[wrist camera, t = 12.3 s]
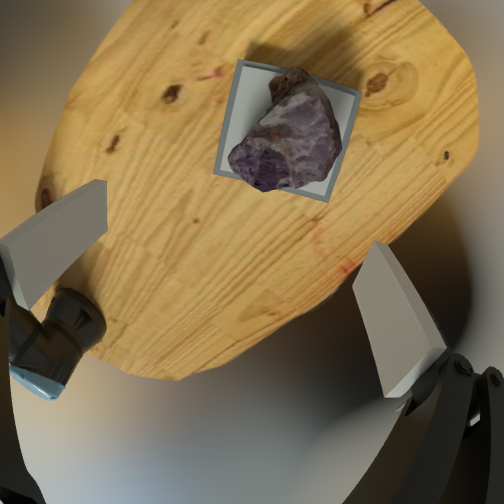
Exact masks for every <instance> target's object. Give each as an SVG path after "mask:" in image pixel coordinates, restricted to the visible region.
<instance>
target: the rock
mask: <svg viewBox="0 0 504 504" xmlns="http://www.w3.org/2000/svg"><path fill="white" fill-rule="evenodd" d="M268 86H269V90H270V93H271V103H272V104H271V107H270V108H269V109H267V111H266V114H265V116H264V117H262V118H261V119H260V120H258V122H257V123H256V125H255V126H254V127H253V128H252V129H251V130H250V132H249V134H248V135H247V136H246V137H245V138H244V139H243V140H242V141H241V143H239V144H237V145H236V146H235V147H234V148H232V150H231V152H230V154H229V155H228V162H229V165H230V168H231V170H232V171H233V172H234V174H237V175H239V176H240V177H241V178H242V179H243V180H244V181H246V182H247V183H248V184H249V185H251V186H252V187H254V188H256V189H258V190H260V191H262V192H268V191H271V190H275V189H279V190H281V189H283V188H287V187H292V188H294V189H298V188H301V187H303V186H306V185H308V184H309V183H311V182H315V181H316V182H322V181H324V180H325V179H326V178H327V176H328V173H329V172H330V170H331V169H332V167H333V164H334V162H335V160H336V158H337V157H338V156H339V154H340V152H341V151H342V141H341V134H340V129H339V124H338V122H337V120H336V119H335V116H334V112H333V109H332V106H331V103H330V100H329V99H328V98H327V96H326V95H325V93H324V92H323V90H322V89H321V88H320V87H319V86H318V83H317V82H316V81H315V80H314V79H313V78H311V76H310V75H309V74H308V73H307V72H306V71H304V70H302V69H300V68H298V67H293V68H291V69H289V70H288V71H286V72H285V73H284V74H283V75H281V76H275V77H274V78H273V79H272V80H270V82H269V84H268Z"/></svg>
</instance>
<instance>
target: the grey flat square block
mask: <svg viewBox="0 0 504 504" xmlns="http://www.w3.org/2000/svg"><path fill="white" fill-rule="evenodd" d="M288 70H289V69H286V68H281V67H277V66H273V65H268V64H263V63H258V62H252V61H246V60H240V59H238V61H237V65H236V69H235V73H234V77H233V81H232V86H231V90H230V94H229V99H228V103H227V107H226V112H225V117H224V121H223V126H222V131H221V136H220V141H219V146H218V151H217V156H216V161H215V167H214V172H213V174H216V175H220V176H225V177H229V178H234V179H238V180H242V181H244V180H243V179H242V178H241V177H240V176H239V175H237V174H234V172H233V171H232V170H231V168H230V165H229V162H228V155H229V154H230V152H231V150H232V148H234V147H235V146H236V145H237V144H239V143H241V141H242V140H243V139H244V138H245V137H246V136H247V135H248V134H249V132H250V130H251V129H252V128H253V127H254V126H255V125H256V123H257V122H258V120H260V119H261V118H262V117H264V116H265V114H266V111H267V109H269V108H270V107H271V104H272V103H271V93H270V90H269V86H268V84H269V82H270V80H272V79H273V78H274V77H275V76H281V75H283V74H284V73H285V72H286V71H288ZM310 76H311V78H313V79H314V80H315V81H316V82H317V83H318V86H319V87H320V88H321V89H322V90H323V92H324V93H325V95H326V96H327V98H328V99H329V100H330V103H331V106H332V109H333V112H334V116H335V119H336V120H337V122H338V124H339V129H340V134H341V141H342V151H341V152H340V154H339V156H338V157H337V158H336V160H335V162H334V164H333V167H332V169H331V170H330V172H329V173H328V176H327V178H326V179H325V180H324V181H322V182H316V181H315V182H311V183H309V184H308V185H306V186H303V187H301V188H298V189H294V188H292V187H287V188H283V189H281V190H283V191H287V192H291V193H294V194H298V195H302V196H305V197H309V198H312V199H316V200H319V201H323V202H326V203H328V202H329V199H330V196H331V193H332V190H333V187H334V185H335V182H336V179H337V175H338V172H339V169H340V166H341V163H342V160H343V157H344V154H345V151H346V147H347V144H348V141H349V138H350V134H351V131H352V127H353V124H354V121H355V117H356V114H357V110H358V107H359V103H360V99H361V96H362V92H359V91H357V90H354V89H351V88H349V87H346V86H343V85H340V84H337V83H334V82H331V81H328V80H325V79H322V78H319V77H315V76H312V75H310Z"/></svg>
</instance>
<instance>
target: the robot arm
mask: <svg viewBox="0 0 504 504" xmlns="http://www.w3.org/2000/svg"><path fill="white" fill-rule="evenodd" d="M107 231H108V225H107V181H104V180H98V179H94V180H92V181H90V182H89V183H87V184H85V185H83V186H81V187H79V188H78V189H76V190H74V191H72V192H71V193H69V194H67V195H65V196H64V197H62V198H60V199H59V200H57V201H55V202H54V203H52V204H51V205H49V206H47V207H46V208H44V209H43V210H41V211H40V212H38V213H37V214H35V215H34V216H32V217H31V218H29V219H28V220H26V221H25V222H23V223H22V224H20V225H19V226H18V227H16V228H15V229H13V231H11V232H10V233H8V234H7V235H5V236H4V237H3V238H1V239H0V500H1V501H2V502H3V504H46V503H45V500H44V498H43V495H42V493H41V491H40V489H39V486H38V485H37V483H36V481H35V480H34V479H33V477H32V476H31V475H30V474H29V472H28V471H27V469H26V466H25V464H24V460H23V457H22V453H21V449H20V444H19V440H18V435H17V430H16V425H15V420H14V414H13V406H12V398H11V389H10V376H9V373H10V374H11V375H12V376H13V378H14V379H15V380H17V381H18V382H19V383H20V384H21V385H23V386H24V387H25V388H27V389H28V390H30V391H31V392H33V393H34V394H36V395H38V396H39V397H42V398H44V399H46V400H49V401H54V400H56V399H57V398H58V397H59V395H60V394H61V392H62V391H63V389H65V386H66V384H67V382H68V380H69V379H70V377H71V375H72V373H73V371H74V369H75V368H76V366H77V364H78V362H79V361H80V359H81V358H82V356H83V354H84V353H85V352H87V351H88V350H89V349H91V348H92V347H93V346H94V345H96V344H97V343H99V342H100V341H101V340H102V338H103V336H104V335H105V333H106V325H105V322H104V319H103V318H102V316H101V314H100V313H99V311H98V310H97V309H96V307H95V306H94V305H93V304H92V303H91V302H90V301H89V300H88V299H86V298H85V297H84V296H82V295H81V294H79V293H78V292H76V291H74V290H71V289H66V288H63V289H60V290H59V291H58V292H57V293H56V294H55V295H54V296H53V298H52V300H51V303H50V306H49V308H48V311H47V314H46V317H45V319H44V320H43V322H42V323H40V322H39V321H38V320H37V318H36V317H35V316H34V314H33V313H32V312H31V311H30V309H31V308H32V306H33V305H34V304H35V303H36V302H37V301H38V300H39V299H40V297H41V296H42V295H43V294H44V293H45V292H46V291H47V290H48V289H49V288H50V286H51V285H52V284H53V283H54V282H55V281H56V280H57V279H58V278H59V277H60V276H61V275H62V274H63V273H64V272H65V271H66V270H67V269H68V268H69V267H70V266H71V265H72V264H73V263H74V262H75V261H76V260H77V259H78V258H79V257H80V256H81V255H82V254H83V253H84V252H85V251H86V250H87V249H88V248H89V247H90V246H91V245H92V244H93V243H94V242H96V241H97V240H98V239H99V238H100V237H101V236H102V235H103V234H104V233H105V232H107ZM352 287H353V290H354V293H355V296H356V299H357V302H358V305H359V308H360V311H361V314H362V317H363V321H364V324H365V327H366V330H367V334H368V337H369V340H370V344H371V347H372V351H373V354H374V358H375V362H376V365H377V369H378V373H379V377H380V381H381V385H382V389H383V393H384V397H401V396H402V395H403V394H404V393H405V392H406V391H407V390H408V389H409V388H410V387H411V391H412V394H413V395H412V396H411V397H410V398H409V399H407V400H406V401H405V402H404V403H403V404H402V405H401V406H400V407H398V408H397V410H396V411H395V412H398V411H400V410H401V409H403V410H402V412H401V414H400V416H399V418H398V420H397V422H396V424H395V425H394V427H393V429H392V431H391V433H390V434H389V436H388V438H387V440H386V441H385V443H384V445H383V447H382V448H381V450H380V451H379V453H378V455H377V456H376V458H375V459H374V461H373V462H372V464H371V465H370V467H369V468H368V470H367V472H366V473H365V474H364V476H363V477H362V478H361V480H360V481H359V483H358V484H357V485H356V487H355V488H354V489H353V491H352V492H351V493H350V495H349V496H348V497H347V498H346V500H345V501H344V502H343V503H342V504H504V378H503V376H502V373H501V372H500V371H499V370H497V369H496V368H494V367H491V366H490V367H488V368H487V369H486V370H485V371H484V372H483V373H482V374H481V375H480V374H477V373H474V370H473V368H472V366H471V364H470V362H469V361H468V360H467V359H466V358H465V357H464V356H462V355H460V354H457V353H454V354H452V351H451V349H450V347H449V345H448V343H447V341H446V339H445V337H444V335H443V333H442V331H441V330H440V327H439V325H438V323H437V322H436V320H435V318H434V316H433V314H432V312H431V311H430V310H429V309H428V308H427V307H426V305H424V303H423V301H422V300H421V298H420V296H419V295H418V293H417V291H416V289H415V288H414V286H413V284H412V283H411V281H410V279H409V278H408V276H407V275H406V273H405V271H404V270H403V268H402V267H401V265H400V264H399V262H398V260H397V259H396V257H395V256H394V254H393V253H392V251H391V250H390V249H389V247H388V245H387V244H384V243H381V242H377V241H373V243H372V245H371V247H370V250H369V252H368V254H367V256H366V258H365V261H364V263H363V265H362V267H361V269H360V271H359V273H358V275H357V278H356V279H355V282H354V284H353V286H352ZM9 363H10V366H9ZM478 414H480V420H479V421H478V422H477V423H475V424H474V425H473V426H471V425H470V421H471V420H472V419H473V418H475V417H476V416H477V415H478Z"/></svg>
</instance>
